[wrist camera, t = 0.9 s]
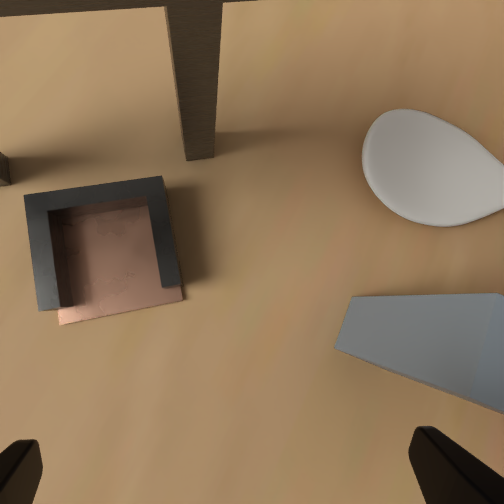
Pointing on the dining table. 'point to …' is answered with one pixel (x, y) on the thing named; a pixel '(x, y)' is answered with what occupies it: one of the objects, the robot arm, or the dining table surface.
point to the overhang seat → (123, 186)
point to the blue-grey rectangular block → (433, 341)
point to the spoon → (431, 169)
